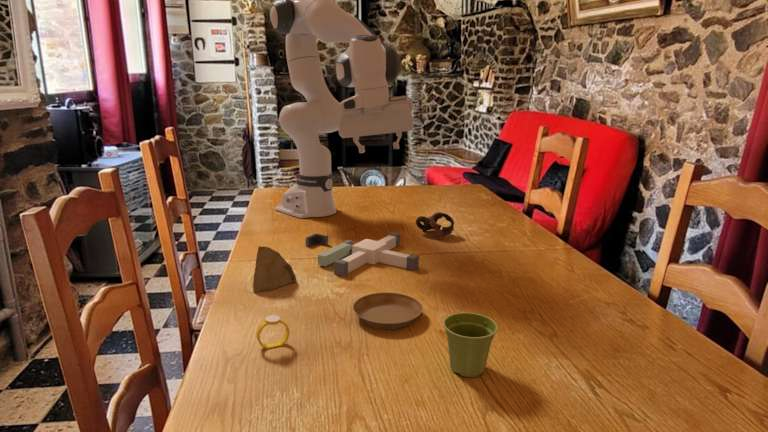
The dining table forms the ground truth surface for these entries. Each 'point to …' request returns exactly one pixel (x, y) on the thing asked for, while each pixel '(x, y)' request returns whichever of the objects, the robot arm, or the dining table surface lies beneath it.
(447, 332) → the plant pot
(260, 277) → the rock
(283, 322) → the gold ring
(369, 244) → the stool base
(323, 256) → the hinged leg
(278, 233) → the dining table surface
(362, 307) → the plant saucer
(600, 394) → the dining table surface
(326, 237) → the leg socket
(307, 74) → the robot arm
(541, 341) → the dining table surface
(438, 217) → the pottery mug
